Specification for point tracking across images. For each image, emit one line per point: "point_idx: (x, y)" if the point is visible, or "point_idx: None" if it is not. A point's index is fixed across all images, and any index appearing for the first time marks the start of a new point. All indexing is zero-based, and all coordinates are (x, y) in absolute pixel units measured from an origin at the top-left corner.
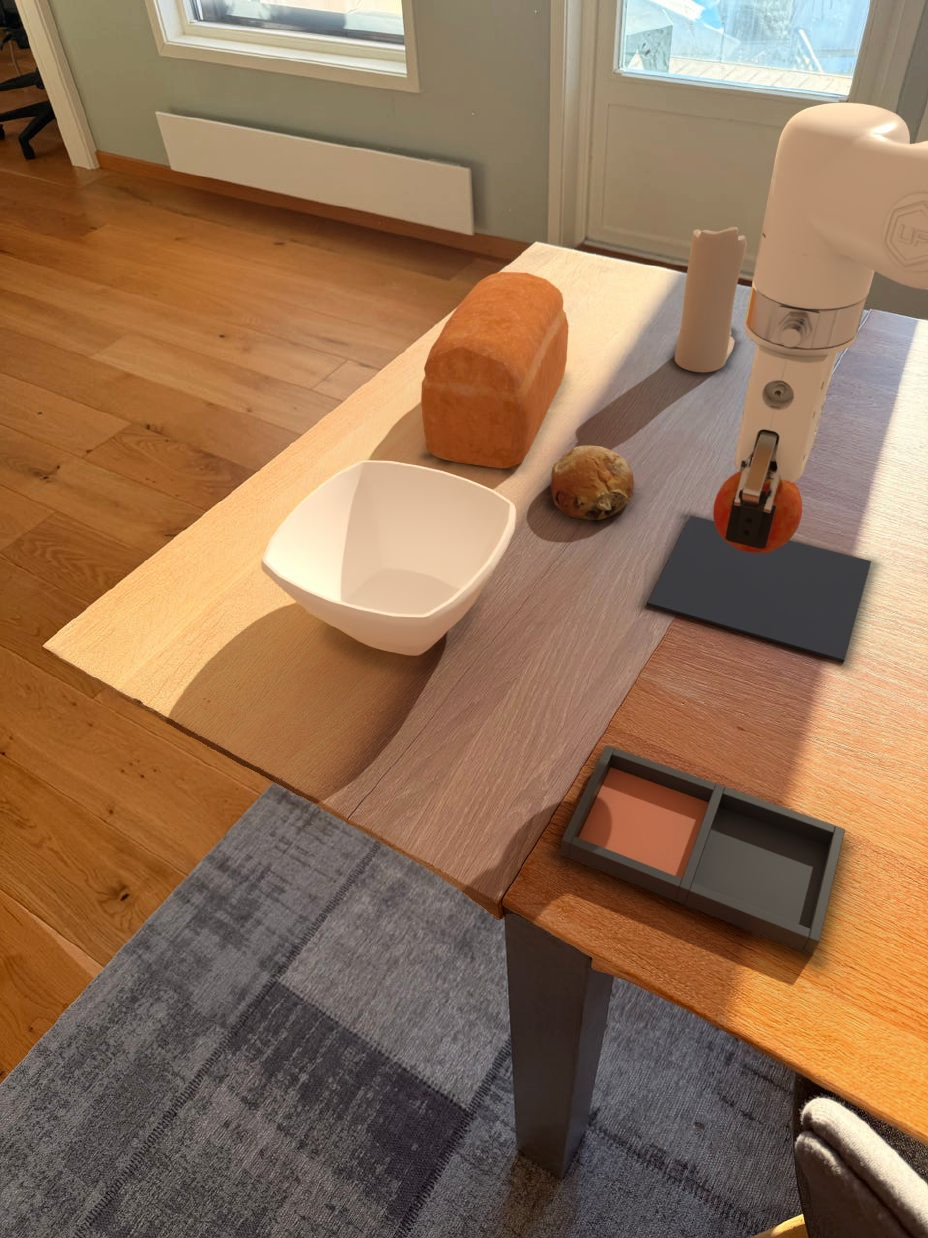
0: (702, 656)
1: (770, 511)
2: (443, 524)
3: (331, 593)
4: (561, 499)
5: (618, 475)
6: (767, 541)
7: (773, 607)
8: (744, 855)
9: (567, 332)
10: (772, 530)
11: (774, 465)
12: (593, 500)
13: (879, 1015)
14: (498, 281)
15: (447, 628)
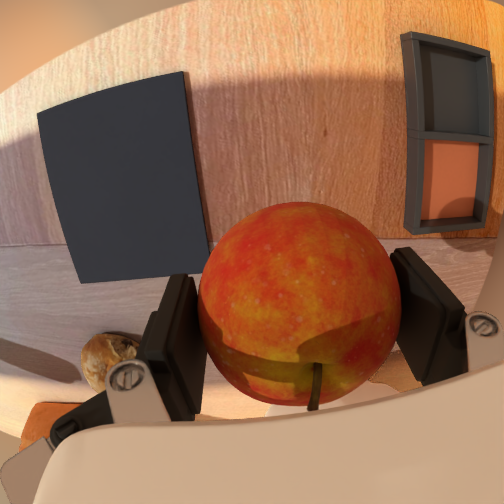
0: (251, 197)
1: (480, 314)
2: None
3: None
4: None
5: (103, 361)
6: (401, 251)
7: (146, 162)
8: (442, 101)
9: (26, 427)
10: (389, 258)
11: (190, 354)
12: None
13: (484, 16)
14: None
15: (375, 386)
